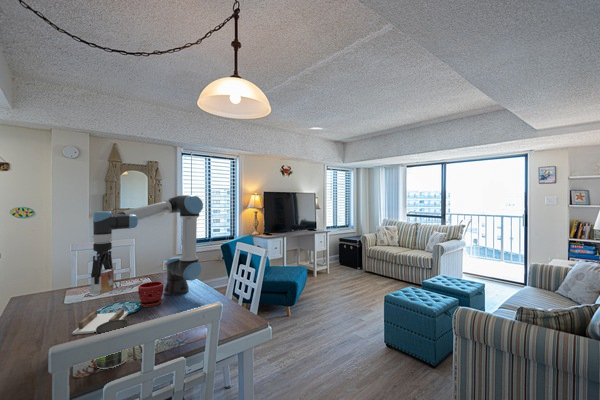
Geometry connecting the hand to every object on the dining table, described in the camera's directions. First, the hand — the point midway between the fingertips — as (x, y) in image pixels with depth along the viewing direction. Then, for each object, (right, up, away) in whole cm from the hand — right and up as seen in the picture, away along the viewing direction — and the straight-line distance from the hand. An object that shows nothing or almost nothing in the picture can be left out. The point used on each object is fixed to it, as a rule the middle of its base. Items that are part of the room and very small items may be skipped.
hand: (102, 287), depth 137 cm
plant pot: (+11, -18, +25) cm, 33 cm away
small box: (0, -3, 0) cm, 3 cm away
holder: (0, -18, 0) cm, 18 cm away
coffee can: (+27, -19, -32) cm, 46 cm away
